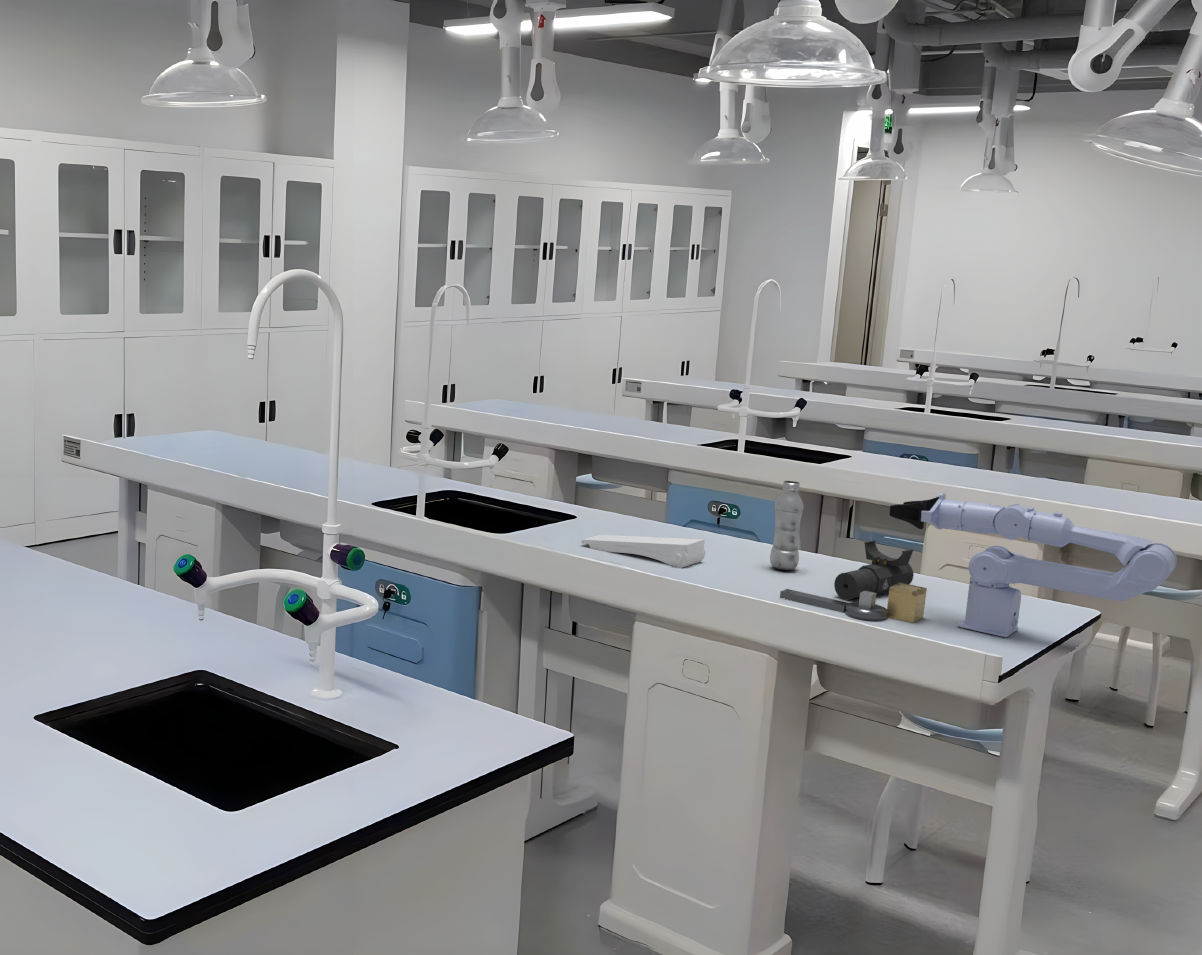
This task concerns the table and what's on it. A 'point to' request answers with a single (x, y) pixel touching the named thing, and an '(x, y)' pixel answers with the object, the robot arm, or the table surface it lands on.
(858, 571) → the laser sight
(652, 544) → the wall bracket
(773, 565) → the plastic bottle
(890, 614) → the wood grain cube
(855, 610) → the ratchet
